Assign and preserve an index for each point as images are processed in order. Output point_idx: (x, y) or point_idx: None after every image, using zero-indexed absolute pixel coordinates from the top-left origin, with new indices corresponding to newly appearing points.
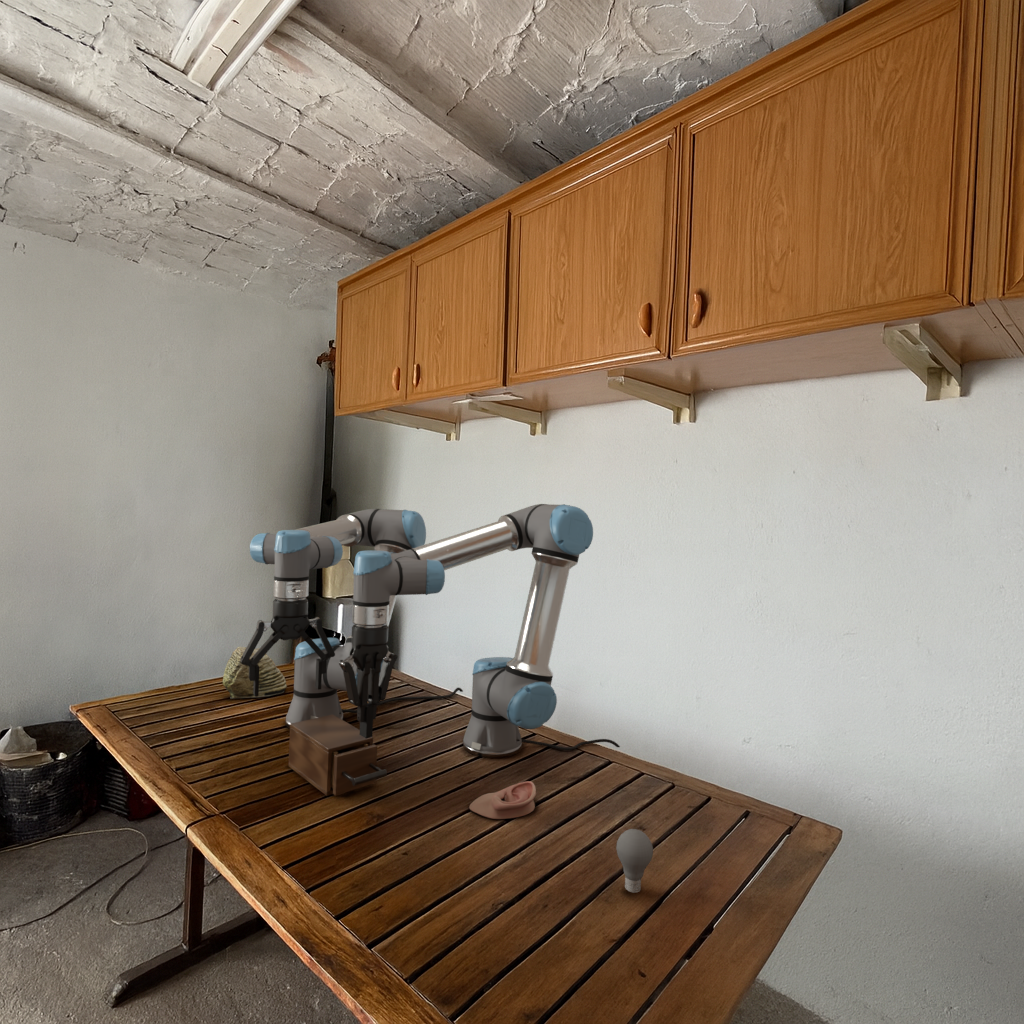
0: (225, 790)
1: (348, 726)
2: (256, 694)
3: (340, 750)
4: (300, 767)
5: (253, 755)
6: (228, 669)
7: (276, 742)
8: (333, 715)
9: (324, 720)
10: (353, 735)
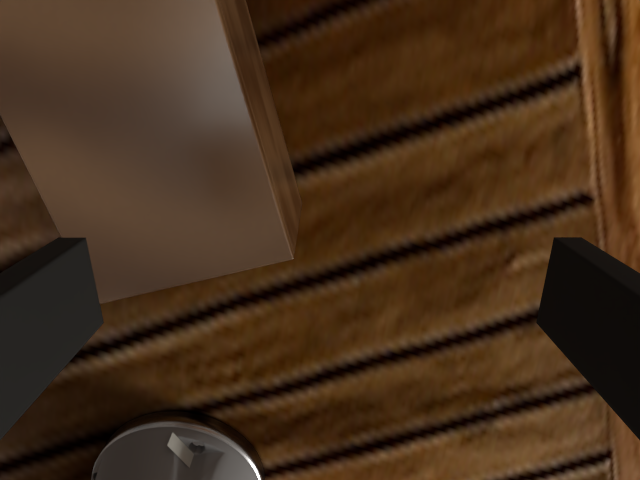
0: (513, 101)
1: (23, 118)
2: (577, 244)
3: None
4: (275, 119)
5: (383, 319)
6: None
7: (306, 382)
8: None
9: (137, 243)
10: None
